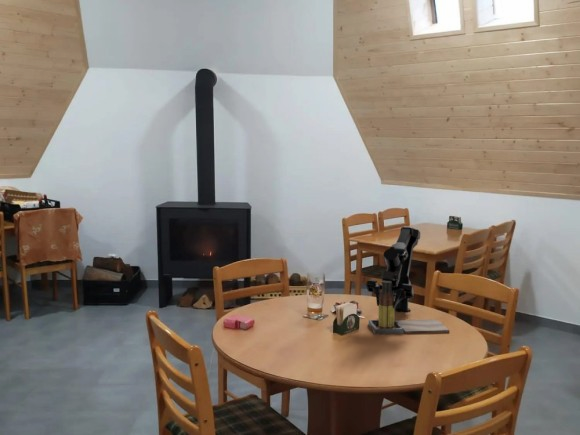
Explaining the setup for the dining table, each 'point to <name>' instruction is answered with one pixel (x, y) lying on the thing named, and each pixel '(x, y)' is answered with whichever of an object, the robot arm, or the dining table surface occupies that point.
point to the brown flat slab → (423, 326)
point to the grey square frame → (388, 330)
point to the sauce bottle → (386, 306)
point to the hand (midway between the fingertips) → (385, 306)
